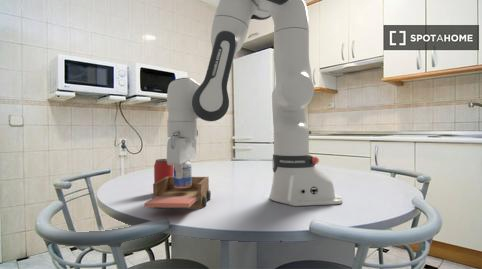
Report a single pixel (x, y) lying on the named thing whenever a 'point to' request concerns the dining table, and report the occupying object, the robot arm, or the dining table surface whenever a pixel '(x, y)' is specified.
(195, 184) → the truck bed
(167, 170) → the beer can
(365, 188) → the dining table surface
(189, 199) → the tailgate
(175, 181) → the pill bottle
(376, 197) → the dining table surface
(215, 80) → the robot arm
